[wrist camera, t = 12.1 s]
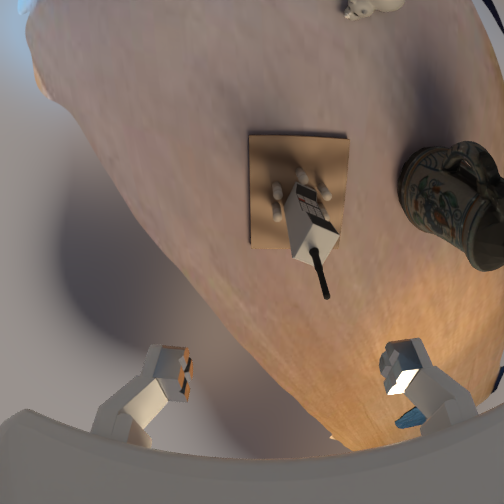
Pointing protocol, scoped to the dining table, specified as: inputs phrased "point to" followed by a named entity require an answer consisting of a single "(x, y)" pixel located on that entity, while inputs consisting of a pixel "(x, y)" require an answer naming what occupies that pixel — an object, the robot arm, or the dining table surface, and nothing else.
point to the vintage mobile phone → (309, 230)
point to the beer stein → (457, 200)
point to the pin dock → (284, 177)
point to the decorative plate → (412, 415)
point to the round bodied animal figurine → (370, 7)
